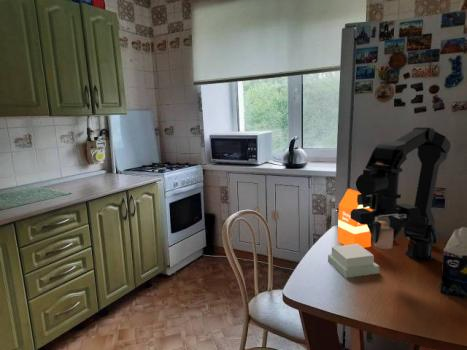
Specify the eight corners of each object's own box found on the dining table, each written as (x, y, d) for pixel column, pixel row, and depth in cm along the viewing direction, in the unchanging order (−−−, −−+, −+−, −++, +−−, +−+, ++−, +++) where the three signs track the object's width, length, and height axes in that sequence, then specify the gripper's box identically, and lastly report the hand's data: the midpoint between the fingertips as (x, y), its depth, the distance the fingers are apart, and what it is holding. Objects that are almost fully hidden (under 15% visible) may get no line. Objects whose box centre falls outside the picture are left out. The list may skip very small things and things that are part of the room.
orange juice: (353, 250, 118) (356, 195, 114) (337, 241, 126) (339, 189, 122) (371, 246, 121) (374, 192, 117) (353, 237, 129) (356, 187, 125)
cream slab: (356, 252, 111) (357, 243, 110) (373, 264, 102) (373, 255, 101) (331, 255, 109) (331, 246, 108) (346, 268, 100) (346, 258, 100)
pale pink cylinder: (385, 241, 100) (386, 225, 99) (396, 247, 95) (397, 231, 94) (370, 243, 99) (371, 227, 98) (381, 249, 94) (382, 233, 93)
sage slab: (358, 259, 112) (358, 251, 112) (378, 275, 102) (379, 265, 101) (327, 263, 110) (328, 254, 109) (345, 279, 99) (345, 270, 99)
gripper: (395, 180, 104) (392, 228, 107) (340, 185, 100) (339, 235, 103) (423, 189, 93) (418, 242, 96) (363, 194, 89) (360, 250, 92)
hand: (383, 241), depth 97 cm, fingers closed on pale pink cylinder, 5 cm apart
